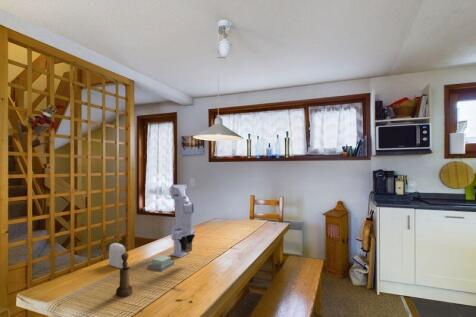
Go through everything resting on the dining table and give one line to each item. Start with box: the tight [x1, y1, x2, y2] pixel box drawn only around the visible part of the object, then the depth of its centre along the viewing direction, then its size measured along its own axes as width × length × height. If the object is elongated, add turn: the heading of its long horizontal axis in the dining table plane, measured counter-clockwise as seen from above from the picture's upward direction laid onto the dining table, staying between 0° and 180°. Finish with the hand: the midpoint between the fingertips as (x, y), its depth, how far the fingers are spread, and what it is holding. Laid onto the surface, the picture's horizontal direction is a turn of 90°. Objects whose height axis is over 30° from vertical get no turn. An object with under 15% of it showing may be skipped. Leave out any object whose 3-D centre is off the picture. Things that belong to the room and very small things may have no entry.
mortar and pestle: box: [115, 252, 133, 298], centre depth 115 cm, size 7×6×18 cm
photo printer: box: [108, 242, 126, 269], centre depth 145 cm, size 10×4×12 cm, turn 60°
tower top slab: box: [151, 254, 172, 266], centre depth 146 cm, size 7×7×2 cm
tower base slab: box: [147, 260, 175, 272], centre depth 146 cm, size 10×10×2 cm
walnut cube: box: [181, 242, 193, 254], centre depth 148 cm, size 4×4×4 cm
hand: (186, 248), depth 148 cm, fingers closed on walnut cube, 4 cm apart
